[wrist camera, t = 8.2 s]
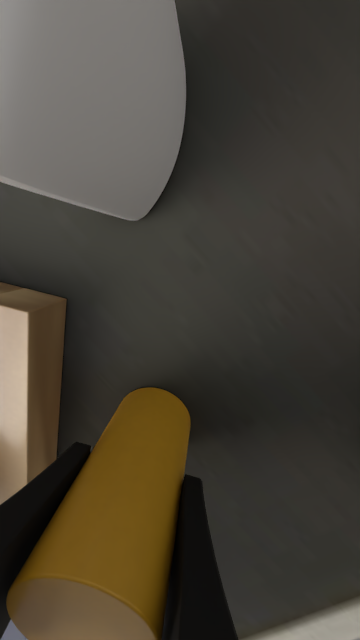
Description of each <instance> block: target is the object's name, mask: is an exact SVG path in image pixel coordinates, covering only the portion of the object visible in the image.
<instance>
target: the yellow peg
mask: <svg viewBox="0 0 360 640" xmlns="http://www.w3.org/2000/svg"><path fill="white" fill-rule="evenodd" d="M190 426H191V421H190V415H189V413H188V410H187V408H186V407H185V405H184V404H183V403H182V401H181V400H180V399H179V398H177V397H176V396H175V395H173V394H171V393H170V392H168V391H165V390H162V389H159V388H152V387H147V388H140V389H137V390H135V391H132V392H131V393H129V394H128V395H127V396H126V397H125V398H124V399H123V400H122V402H121V403H120V405H119V407H118V408H117V410H116V412H115V413H114V415H113V417H112V418H111V420H110V422H109V423H108V425H107V427H106V428H105V430H104V432H103V433H102V435H101V437H100V438H99V440H98V442H97V443H96V445H95V447H94V448H93V450H92V452H91V453H90V455H89V457H88V458H87V460H86V462H85V463H84V465H83V467H82V469H81V470H80V472H79V474H78V475H77V477H76V479H75V480H74V482H73V484H72V485H71V487H70V489H69V490H68V492H67V494H66V495H65V497H64V499H63V500H62V502H61V504H60V505H59V507H58V509H57V510H56V512H55V514H54V515H53V517H52V519H51V520H50V522H49V524H48V525H47V527H46V529H45V530H44V532H43V534H42V535H41V537H40V539H39V540H38V542H37V544H36V545H35V547H34V549H33V550H32V552H31V554H30V555H29V557H28V559H27V560H26V562H25V564H24V565H23V567H22V569H21V570H20V572H19V574H18V575H17V577H16V579H15V580H14V582H13V584H12V585H11V587H10V589H9V591H8V594H7V598H6V606H7V611H8V614H9V616H10V618H11V620H12V622H13V623H14V624H15V626H16V627H17V629H18V630H19V631H20V632H21V633H22V634H23V635H24V636H25V637H26V638H27V639H28V640H162V632H163V625H164V618H165V610H166V603H167V596H168V588H169V581H170V574H171V566H172V559H173V552H174V544H175V537H176V529H177V521H178V512H179V505H180V497H181V490H182V483H183V478H184V471H185V463H186V456H187V448H188V441H189V434H190Z"/></svg>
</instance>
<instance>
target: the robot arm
mask: <svg viewBox="0 0 360 640" xmlns="http://www.w3.org/2000/svg"><path fill="white" fill-rule="evenodd" d="M90 449H91V446H89V445H86V444H83V443H79V442H76V443H74V444H73V445H72V446H71V447H70V448H68V449H67V450H66V451H65V452H64V453H63V454H62V455H61V456H60V457H58V458H57V459H56V460H55V461H54V462H53V463H52V464H50V465H49V466H48V467H47V468H46V469H45V470H43V471H42V472H41V473H40V474H39V475H37V476H36V477H35V478H34V479H33V480H31V481H30V482H29V483H28V484H26V485H25V486H24V487H23V488H22V489H20V490H19V491H18V492H16V493H15V494H14V495H12V496H11V497H10V498H9V499H7V500H6V501H5V502H3V503H2V504H1V505H0V640H28V639H27V638H26V637H25V636H24V635H23V634H22V633H21V632H20V631H19V630H18V629H17V627H16V626H15V624H14V623H13V622H12V620H11V618H10V616H9V614H8V611H7V606H6V598H7V594H8V591H9V589H10V587H11V585H12V584H13V582H14V580H15V579H16V577H17V575H18V574H19V572H20V570H21V569H22V567H23V565H24V564H25V562H26V560H27V559H28V557H29V555H30V554H31V552H32V550H33V549H34V547H35V545H36V544H37V542H38V540H39V539H40V537H41V535H42V534H43V532H44V530H45V529H46V527H47V525H48V524H49V522H50V520H51V519H52V517H53V515H54V514H55V512H56V510H57V509H58V507H59V505H60V504H61V502H62V500H63V499H64V497H65V495H66V494H67V492H68V490H69V489H70V487H71V485H72V484H73V482H74V480H75V479H76V477H77V475H78V474H79V472H80V470H81V469H82V467H83V465H84V463H85V462H86V460H87V458H88V457H89V455H90ZM162 640H238V637H237V634H236V630H235V627H234V624H233V621H232V617H231V614H230V611H229V607H228V604H227V600H226V597H225V593H224V589H223V585H222V582H221V578H220V574H219V570H218V566H217V562H216V558H215V553H214V549H213V544H212V540H211V535H210V531H209V525H208V520H207V514H206V509H205V502H204V495H203V486H202V481H201V479H200V478H196V477H193V476H190V475H186V474H185V477H184V480H183V483H182V490H181V497H180V505H179V512H178V521H177V529H176V537H175V544H174V552H173V559H172V566H171V574H170V581H169V588H168V596H167V603H166V610H165V618H164V625H163V632H162Z"/></svg>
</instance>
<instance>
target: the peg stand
mask: <svg viewBox="0 0 360 640" xmlns="http://www.w3.org/2000/svg"><path fill="white" fill-rule="evenodd" d="M66 302H67V299H65V298H62V297H58V296H54V295H50V294H46V293H42V292H38V291H34V290H31V289H27V288H22V287H18V286H14V285H10V284H6V283H2V282H0V505H1V504H2V503H3V502H5V501H6V500H7V499H9V498H10V497H11V496H12V495H14V494H15V493H16V492H18V491H19V490H20V489H22V488H23V487H24V486H25V485H26V484H28V483H29V482H30V481H31V480H33V479H34V478H35V477H36V476H37V475H39V474H40V473H41V472H42V471H43V470H45V469H46V468H47V467H48V466H49V465H50V464H52V463H53V462H54V461H55V460H56V456H57V440H58V425H59V409H60V394H61V379H62V363H63V348H64V332H65V317H66Z"/></svg>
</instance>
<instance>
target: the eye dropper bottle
mask: <svg viewBox="0 0 360 640" xmlns="http://www.w3.org/2000/svg"><path fill="white" fill-rule="evenodd" d="M185 108H186V72H185V63H184V55H183V49H182V43H181V37H180V31H179V25H178V18H177V12H176V6H175V0H0V182H3V183H6V184H9V185H12V186H15V187H18V188H22V189H25V190H28V191H31V192H34V193H38V194H41V195H44V196H48V197H51V198H54V199H58V200H61V201H64V202H68V203H71V204H74V205H78V206H81V207H84V208H88V209H91V210H94V211H98V212H101V213H105V214H108V215H111V216H115V217H118V218H122V219H125V220H129V221H138V220H139V219H141V218H143V217H144V216H145V215H146V214H147V213H148V212H149V211H150V210H151V208H152V207H153V205H154V204H155V203H156V201H157V200H158V198H159V197H160V195H161V193H162V191H163V190H164V188H165V186H166V184H167V182H168V180H169V178H170V175H171V173H172V170H173V168H174V165H175V162H176V159H177V156H178V152H179V148H180V144H181V139H182V134H183V128H184V120H185Z"/></svg>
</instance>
